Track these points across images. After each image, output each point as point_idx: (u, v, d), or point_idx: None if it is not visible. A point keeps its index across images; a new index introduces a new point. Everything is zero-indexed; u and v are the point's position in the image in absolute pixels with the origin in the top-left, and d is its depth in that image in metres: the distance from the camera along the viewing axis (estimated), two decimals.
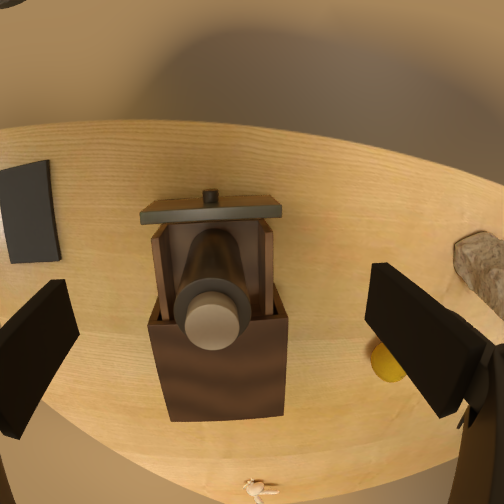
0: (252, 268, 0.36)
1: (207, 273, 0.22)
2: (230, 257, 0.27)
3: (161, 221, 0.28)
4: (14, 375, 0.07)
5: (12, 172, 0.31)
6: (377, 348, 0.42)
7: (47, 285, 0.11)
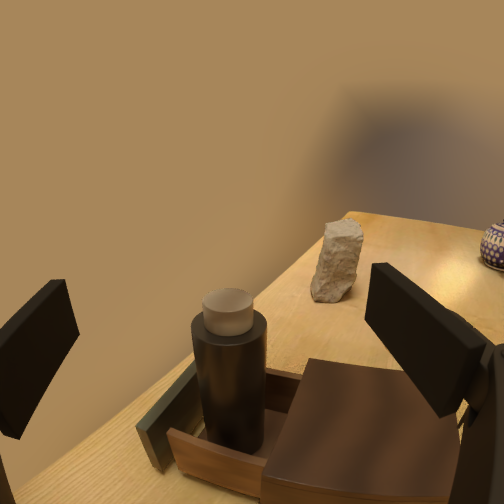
0: (269, 414, 0.30)
1: None
2: None
3: (157, 415, 0.23)
4: (14, 375, 0.07)
5: None
6: None
7: (47, 286, 0.11)
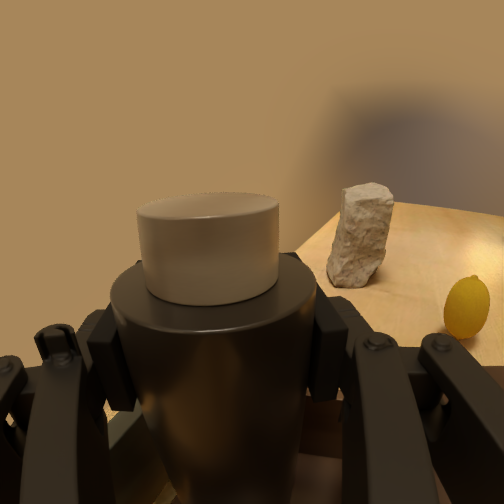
0: None
1: None
2: None
3: None
4: None
5: None
6: (453, 328, 0.28)
7: None
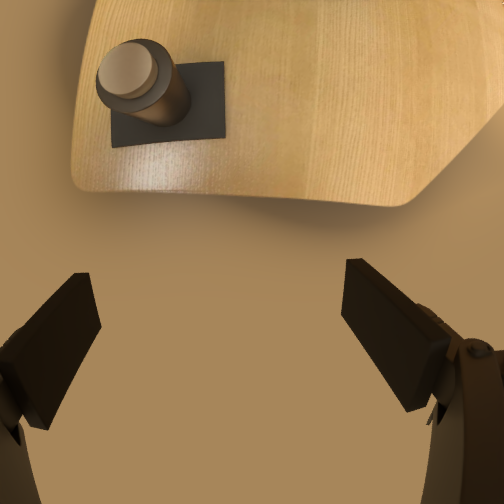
0: None
1: None
2: None
3: None
4: (44, 365, 0.08)
5: (115, 120, 0.31)
6: None
7: (72, 279, 0.11)
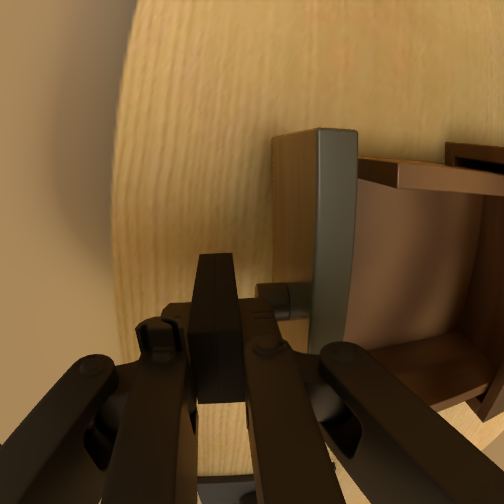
0: (430, 191, 0.14)
1: None
2: None
3: None
4: None
5: None
6: None
7: (203, 259, 0.14)
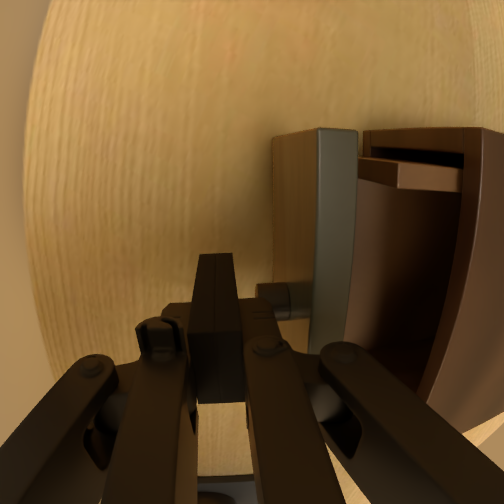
0: (430, 191, 0.14)
1: None
2: None
3: None
4: None
5: None
6: None
7: (203, 259, 0.14)
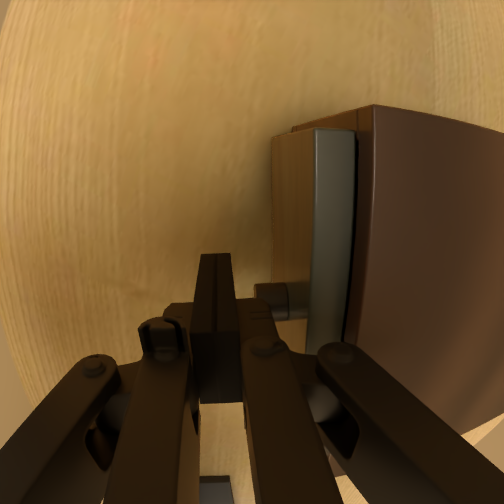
0: None
1: None
2: None
3: None
4: None
5: None
6: None
7: (204, 258, 0.14)
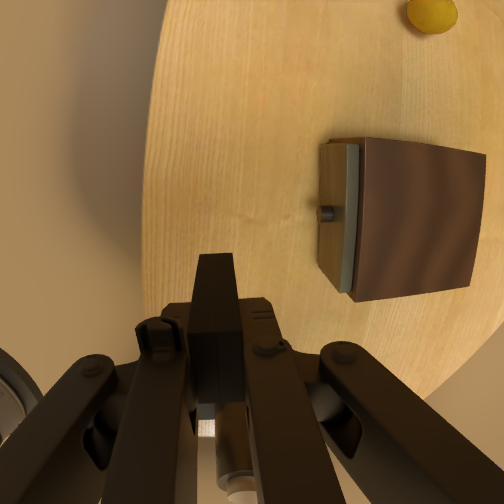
0: None
1: None
2: (218, 439, 0.30)
3: (351, 271, 0.27)
4: None
5: None
6: (415, 24, 0.24)
7: (203, 259, 0.14)
